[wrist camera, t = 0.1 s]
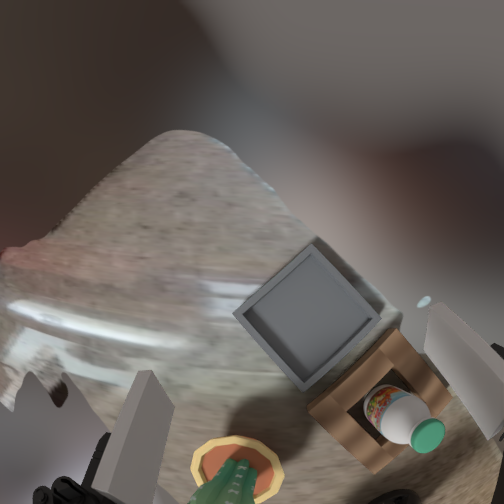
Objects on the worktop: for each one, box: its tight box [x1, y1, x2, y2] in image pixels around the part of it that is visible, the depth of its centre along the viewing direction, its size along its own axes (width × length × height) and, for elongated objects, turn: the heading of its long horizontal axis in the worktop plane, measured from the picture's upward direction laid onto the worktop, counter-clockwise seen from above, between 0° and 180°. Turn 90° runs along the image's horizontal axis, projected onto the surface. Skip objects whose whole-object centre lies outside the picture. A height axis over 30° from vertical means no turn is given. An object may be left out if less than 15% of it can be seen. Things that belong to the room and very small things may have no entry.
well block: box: [307, 328, 453, 475], centre depth 37 cm, size 20×20×4 cm
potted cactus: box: [187, 435, 285, 504], centre depth 27 cm, size 15×15×25 cm
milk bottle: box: [363, 384, 445, 453], centre depth 30 cm, size 8×8×20 cm
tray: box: [232, 243, 382, 393], centre depth 44 cm, size 18×18×3 cm
